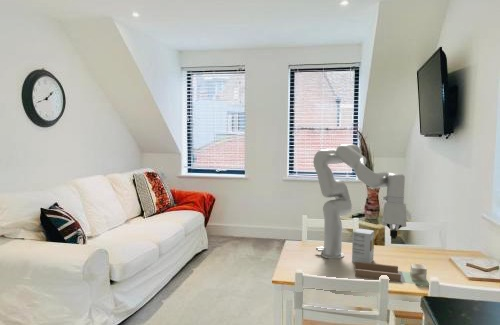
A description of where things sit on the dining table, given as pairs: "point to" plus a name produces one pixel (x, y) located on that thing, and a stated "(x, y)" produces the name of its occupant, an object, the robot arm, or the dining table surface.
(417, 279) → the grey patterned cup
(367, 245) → the supplement box
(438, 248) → the dining table surface
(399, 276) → the channel board
